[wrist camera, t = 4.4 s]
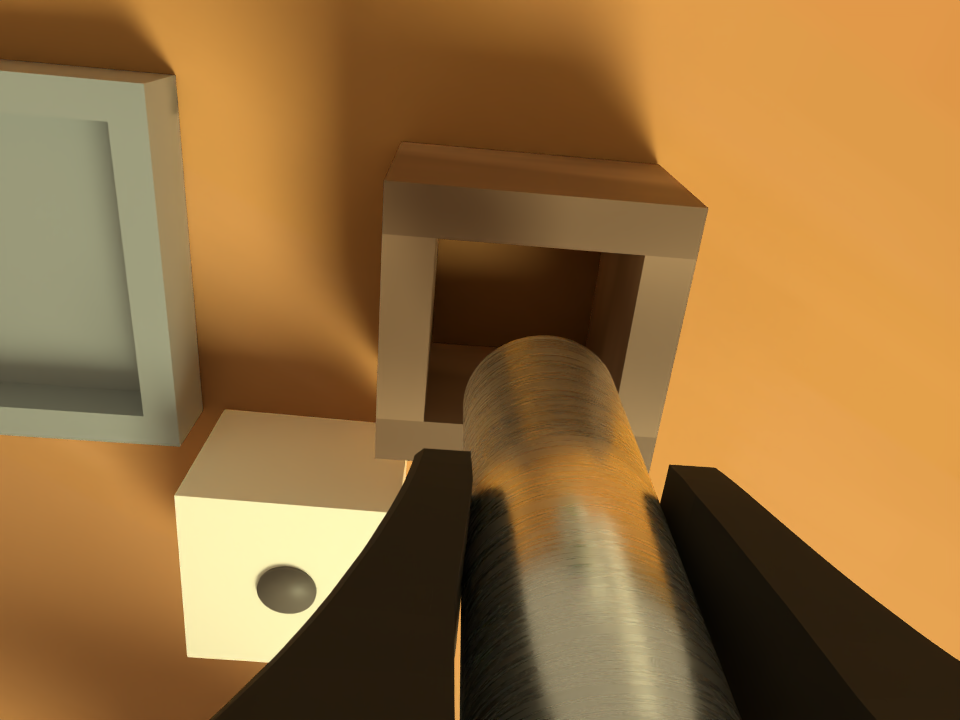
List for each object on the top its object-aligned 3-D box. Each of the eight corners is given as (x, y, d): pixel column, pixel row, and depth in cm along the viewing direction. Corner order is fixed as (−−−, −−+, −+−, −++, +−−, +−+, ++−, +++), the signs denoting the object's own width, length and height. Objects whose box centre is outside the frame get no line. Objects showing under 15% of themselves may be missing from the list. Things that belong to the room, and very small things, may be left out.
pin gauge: (607, 471, 13) (771, 1025, 6) (461, 467, 13) (454, 1027, 6) (624, 337, 12) (851, 828, 5) (465, 332, 12) (461, 824, 5)
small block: (398, 563, 23) (385, 673, 19) (231, 551, 23) (185, 660, 19) (410, 423, 21) (397, 515, 17) (225, 406, 20) (172, 498, 17)
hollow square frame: (615, 390, 20) (648, 476, 17) (391, 374, 20) (374, 458, 16) (658, 164, 18) (708, 208, 14) (401, 141, 17) (383, 180, 14)
